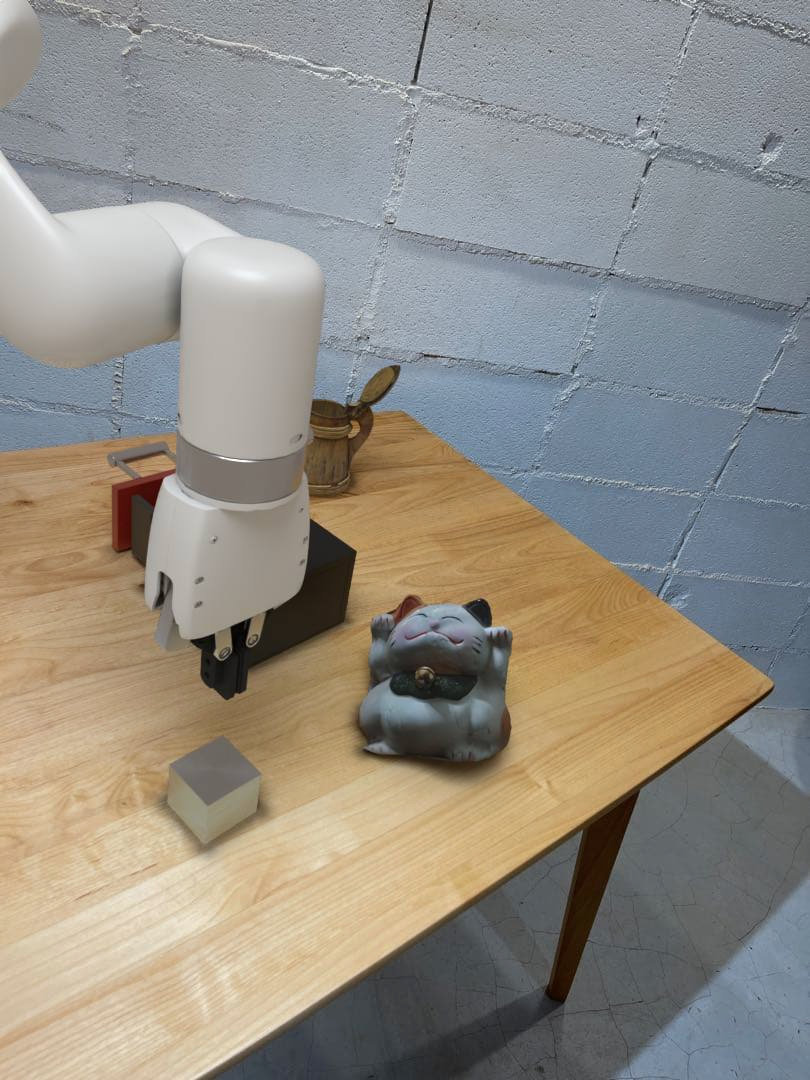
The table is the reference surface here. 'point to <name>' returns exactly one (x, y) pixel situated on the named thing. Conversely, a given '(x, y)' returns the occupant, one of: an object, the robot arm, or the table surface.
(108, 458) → the drawer
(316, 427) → the wooden mug
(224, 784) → the steel block
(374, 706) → the lucky cat figurine
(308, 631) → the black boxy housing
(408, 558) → the table surface
